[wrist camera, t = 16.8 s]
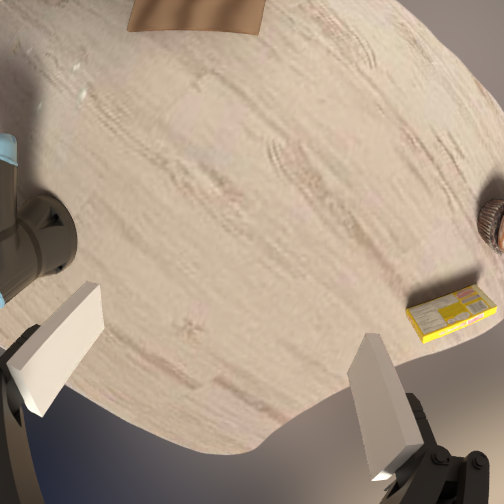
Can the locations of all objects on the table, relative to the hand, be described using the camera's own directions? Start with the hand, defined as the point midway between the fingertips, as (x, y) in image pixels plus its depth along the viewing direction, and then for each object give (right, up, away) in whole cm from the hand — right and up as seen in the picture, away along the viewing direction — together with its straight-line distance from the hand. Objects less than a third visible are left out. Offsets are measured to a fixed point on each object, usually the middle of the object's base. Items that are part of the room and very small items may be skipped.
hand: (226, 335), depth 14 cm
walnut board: (-6, +45, +17) cm, 48 cm away
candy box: (+37, -5, +34) cm, 50 cm away
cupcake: (+44, +10, +27) cm, 53 cm away
